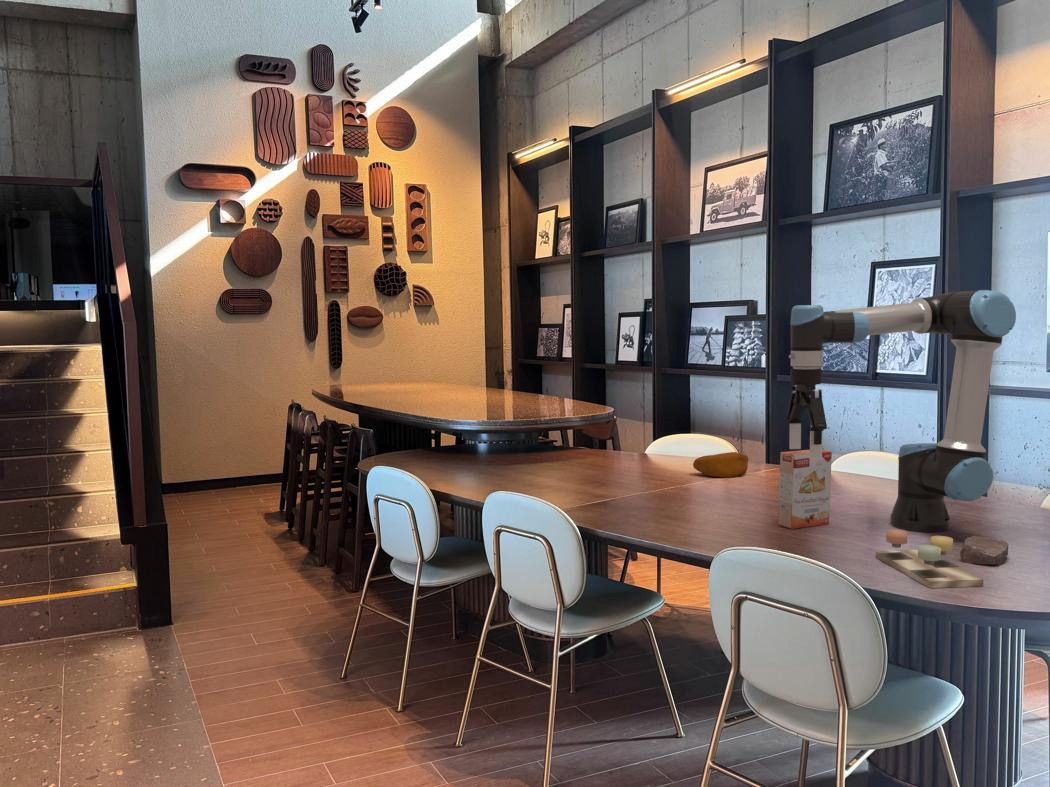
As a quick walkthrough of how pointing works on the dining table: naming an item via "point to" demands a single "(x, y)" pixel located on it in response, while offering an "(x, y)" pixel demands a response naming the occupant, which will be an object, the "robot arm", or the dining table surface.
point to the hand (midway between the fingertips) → (805, 453)
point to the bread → (722, 464)
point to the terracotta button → (896, 537)
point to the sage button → (929, 553)
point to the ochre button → (942, 543)
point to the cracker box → (804, 489)
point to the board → (929, 570)
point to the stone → (984, 551)
